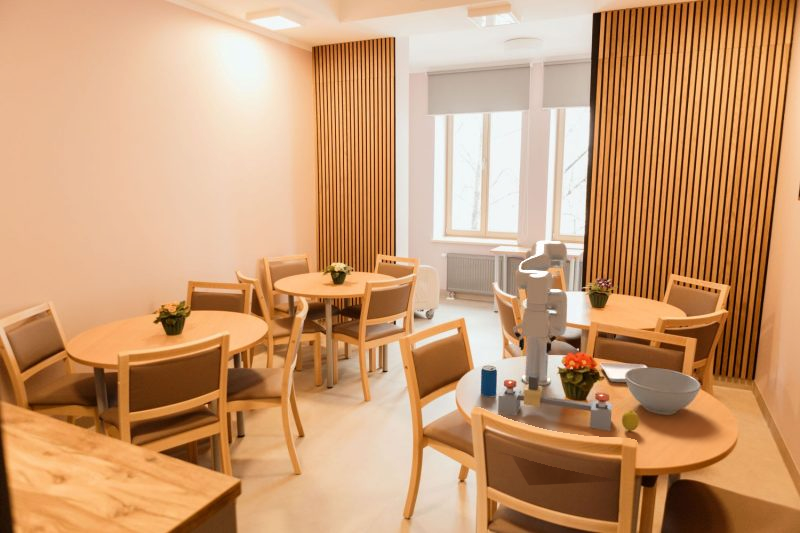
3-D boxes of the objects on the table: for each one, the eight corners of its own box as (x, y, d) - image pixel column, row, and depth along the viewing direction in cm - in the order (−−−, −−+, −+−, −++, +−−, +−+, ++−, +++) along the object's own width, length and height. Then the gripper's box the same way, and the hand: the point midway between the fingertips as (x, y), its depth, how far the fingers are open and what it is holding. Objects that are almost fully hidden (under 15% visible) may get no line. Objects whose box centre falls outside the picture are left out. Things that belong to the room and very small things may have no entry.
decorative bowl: (690, 399, 225) (692, 371, 223) (704, 427, 200) (707, 396, 198) (620, 391, 233) (622, 364, 231) (626, 417, 208) (628, 387, 206)
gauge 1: (504, 396, 218) (505, 379, 216) (516, 398, 216) (517, 380, 215) (502, 401, 213) (502, 383, 212) (514, 403, 211) (515, 385, 210)
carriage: (526, 398, 215) (527, 372, 213) (541, 401, 213) (542, 374, 211) (523, 404, 209) (524, 377, 208) (539, 406, 207) (540, 379, 205)
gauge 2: (594, 410, 205) (595, 391, 203) (608, 412, 203) (609, 393, 202) (593, 415, 200) (595, 396, 199) (607, 417, 199) (609, 398, 197)
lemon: (618, 428, 199) (620, 407, 198) (633, 427, 200) (634, 406, 198) (626, 435, 194) (627, 414, 192) (640, 434, 194) (642, 413, 193)
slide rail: (502, 403, 221) (503, 387, 219) (610, 420, 205) (612, 403, 204) (498, 412, 212) (498, 395, 211) (610, 431, 197) (611, 412, 196)
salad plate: (598, 368, 262) (598, 361, 261) (644, 370, 259) (645, 363, 258) (608, 385, 241) (609, 377, 240) (659, 387, 238) (659, 380, 238)
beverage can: (496, 398, 226) (496, 371, 224) (480, 397, 227) (480, 370, 225) (496, 392, 232) (497, 365, 230) (481, 391, 233) (481, 364, 231)
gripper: (561, 307, 205) (559, 350, 208) (515, 303, 211) (514, 345, 214) (559, 311, 198) (557, 356, 201) (511, 307, 205) (510, 351, 207)
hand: (534, 350), depth 207 cm, fingers open, 9 cm apart
